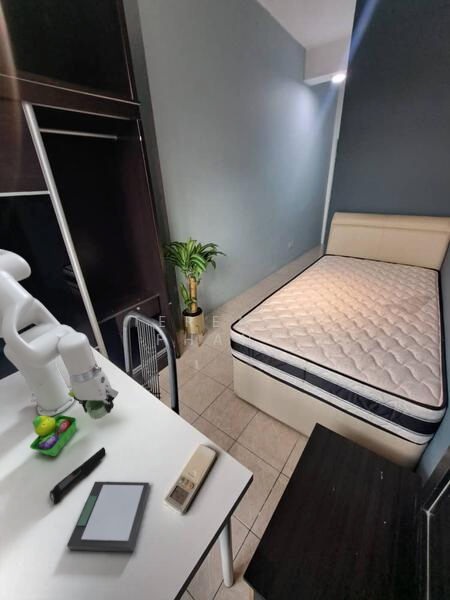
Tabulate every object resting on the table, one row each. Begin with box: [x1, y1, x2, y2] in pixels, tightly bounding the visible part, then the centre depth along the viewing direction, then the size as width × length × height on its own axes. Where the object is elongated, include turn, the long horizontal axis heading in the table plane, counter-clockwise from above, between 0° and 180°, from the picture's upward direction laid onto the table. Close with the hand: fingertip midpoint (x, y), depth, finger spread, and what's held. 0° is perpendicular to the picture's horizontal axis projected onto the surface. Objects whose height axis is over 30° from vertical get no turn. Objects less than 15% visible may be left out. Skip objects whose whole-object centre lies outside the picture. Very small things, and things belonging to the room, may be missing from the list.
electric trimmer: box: [49, 447, 106, 504], centre depth 70 cm, size 4×16×3 cm, turn 142°
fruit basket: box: [29, 414, 77, 458], centre depth 78 cm, size 11×9×11 cm
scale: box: [66, 481, 151, 553], centre depth 62 cm, size 15×13×3 cm
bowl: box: [86, 396, 109, 420], centre depth 83 cm, size 7×7×5 cm
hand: (99, 408), depth 83 cm, fingers closed on bowl, 6 cm apart
